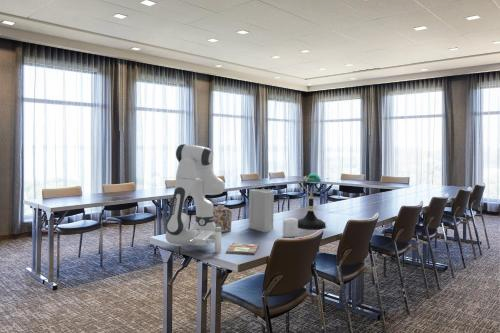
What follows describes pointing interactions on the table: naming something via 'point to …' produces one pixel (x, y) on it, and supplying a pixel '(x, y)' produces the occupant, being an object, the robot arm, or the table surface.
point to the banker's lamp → (310, 218)
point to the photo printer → (290, 227)
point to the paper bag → (261, 209)
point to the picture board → (242, 248)
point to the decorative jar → (222, 218)
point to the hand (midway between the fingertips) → (217, 238)
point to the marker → (218, 239)
